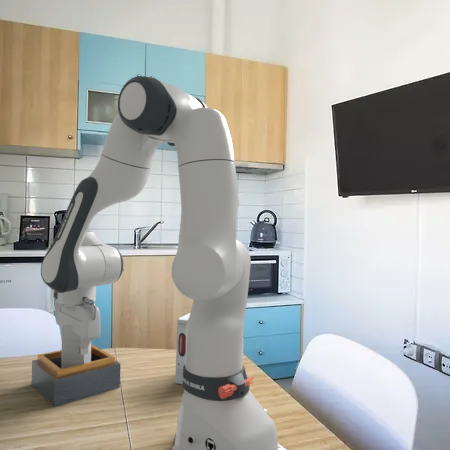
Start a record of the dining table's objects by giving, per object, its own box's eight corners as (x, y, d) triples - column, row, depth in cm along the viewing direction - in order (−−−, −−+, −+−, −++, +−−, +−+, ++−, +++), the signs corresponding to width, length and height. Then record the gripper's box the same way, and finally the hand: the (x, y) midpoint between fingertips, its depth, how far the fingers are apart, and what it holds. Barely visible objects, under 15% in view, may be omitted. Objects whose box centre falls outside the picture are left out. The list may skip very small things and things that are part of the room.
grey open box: (119, 387, 95) (120, 357, 95) (54, 407, 84) (54, 373, 84) (88, 365, 109) (88, 339, 109) (27, 380, 98) (28, 351, 98)
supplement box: (174, 383, 98) (175, 318, 98) (188, 370, 107) (190, 311, 107) (208, 389, 95) (209, 322, 95) (220, 375, 104) (222, 314, 104)
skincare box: (91, 369, 97) (92, 322, 97) (83, 375, 93) (84, 327, 93) (68, 367, 98) (70, 321, 98) (60, 374, 94) (61, 326, 94)
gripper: (108, 299, 90) (107, 357, 90) (74, 288, 105) (73, 338, 105) (82, 302, 86) (80, 363, 86) (50, 290, 101) (49, 342, 101)
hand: (76, 349), depth 96 cm, fingers closed on skincare box, 7 cm apart
